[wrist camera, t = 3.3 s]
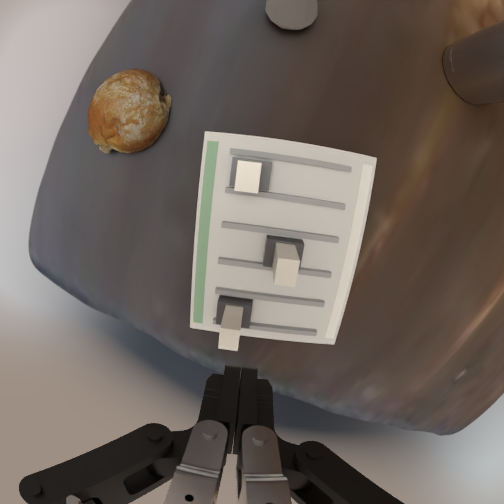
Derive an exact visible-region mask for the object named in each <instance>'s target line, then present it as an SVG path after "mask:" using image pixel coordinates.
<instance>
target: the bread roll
mask: <svg viewBox="0 0 504 504" xmlns="http://www.w3.org/2000/svg"><path fill="white" fill-rule="evenodd" d="M171 106H172V102H171V97H170V95H169V94H168V95H166V93H165V91H164V89H163V87H162V85H161V83H160V82H159V80H158V79H157V78H156V77H155V76H154V75H153V74H152V73H150V72H148V71H145V70H140V69H130V70H125V71H122V72H118V73H116V74H114V75H113V76H111V77H109V78H108V79H107V80H106V81H105V82H104V83H103V84H102V85H101V86H100V87H99V88H98V89H97V90H96V92H95V95H94V97H93V99H92V101H91V104H90V106H89V110H88V123H89V130H88V133H89V134H90V136H91V138H92V139H93V141H94V143H95V144H96V145H99V149H100V150H101V151H103V152H104V153H110V152H111V150H112V149H114V150H116V151H119V152H125V153H127V154H128V153H131V152H135V151H141V150H143V149H145V148H147V147H149V146H150V145H152V144H153V143H154V141H155V140H156V139H157V137H159V135H160V133H161V131H162V130H163V129H164V127H165V125H166V123H167V121H168V117H169V110H170V109H169V108H170V107H171Z"/></svg>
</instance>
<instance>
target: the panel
mask: <svg viewBox="0 0 504 504" xmlns="http://www.w3.org/2000/svg"><path fill="white" fill-rule="evenodd" d="M232 157H239V158H248V159H256V160H264V161H271V162H272V170H271V177H270V184H269V191H264V190H258V194H257V193H249V192H241V191H234V188H235V187H232V186H229V182H230V174H231V165H232ZM376 160H377V158H375V157H371V156H366V155H362V154H357V153H353V152H348V151H343V150H338V149H333V148H328V147H323V146H317V145H312V144H306V143H300V142H293V141H287V140H280V139H273V138H265V137H257V136H249V135H240V134H230V133H219V132H207V131H205V137H204V145H203V154H202V163H201V172H200V182H199V192H198V203H197V215H196V227H195V241H194V255H193V272H192V291H191V315H190V328H195V329H201V330H208V331H214V332H220V326H221V325H219V324H216V313H217V302H218V299H219V295H226V296H233V297H240V298H248V299H253V306H252V313H251V320H250V327H249V329H248V328H241V330H240V335H243V336H251V337H259V338H267V339H276V340H286V341H296V342H307V343H320V344H333V345H334V344H335V340H336V337H337V334H338V331H339V327H340V324H341V320H342V317H343V314H344V310H345V306H346V303H347V299H348V295H349V292H350V288H351V284H352V280H353V276H354V272H355V268H356V264H357V260H358V256H359V251H360V247H361V242H362V238H363V233H364V228H365V223H366V218H367V213H368V208H369V203H370V197H371V192H372V186H373V180H374V173H375V167H376ZM267 235H274V236H281V237H288V238H296V239H302V240H303V242H304V244H305V245H304V250H303V256H302V261H301V266H300V271H298V275H297V280H296V285H295V287H288V286H280V285H274V282H273V268H272V267H265V266H263V257H264V250H265V243H266V236H267Z"/></svg>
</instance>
